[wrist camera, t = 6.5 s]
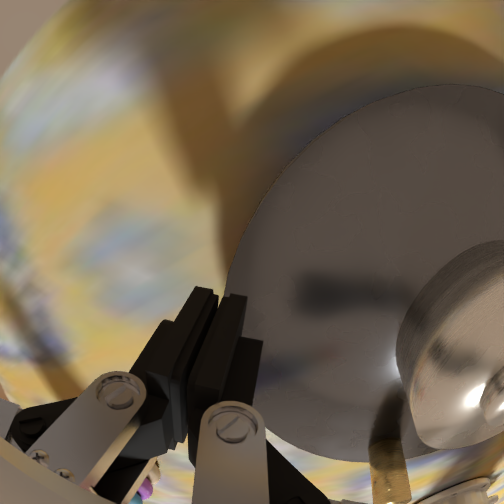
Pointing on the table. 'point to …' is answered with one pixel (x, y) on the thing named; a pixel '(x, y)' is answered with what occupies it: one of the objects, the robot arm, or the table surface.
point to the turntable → (364, 267)
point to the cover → (457, 350)
